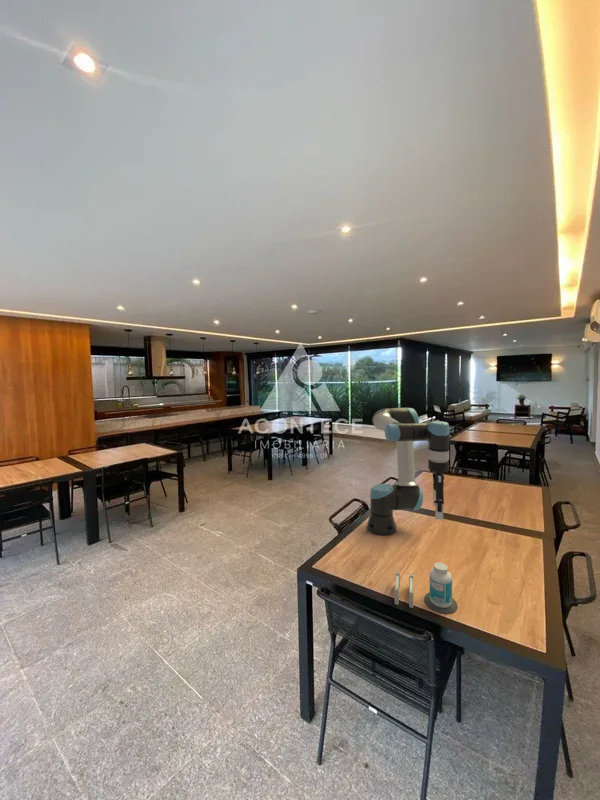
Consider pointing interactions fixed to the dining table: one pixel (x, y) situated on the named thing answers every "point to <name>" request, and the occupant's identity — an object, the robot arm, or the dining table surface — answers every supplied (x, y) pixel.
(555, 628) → the dining table surface
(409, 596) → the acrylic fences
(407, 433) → the robot arm
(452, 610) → the coaster
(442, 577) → the pill bottle
